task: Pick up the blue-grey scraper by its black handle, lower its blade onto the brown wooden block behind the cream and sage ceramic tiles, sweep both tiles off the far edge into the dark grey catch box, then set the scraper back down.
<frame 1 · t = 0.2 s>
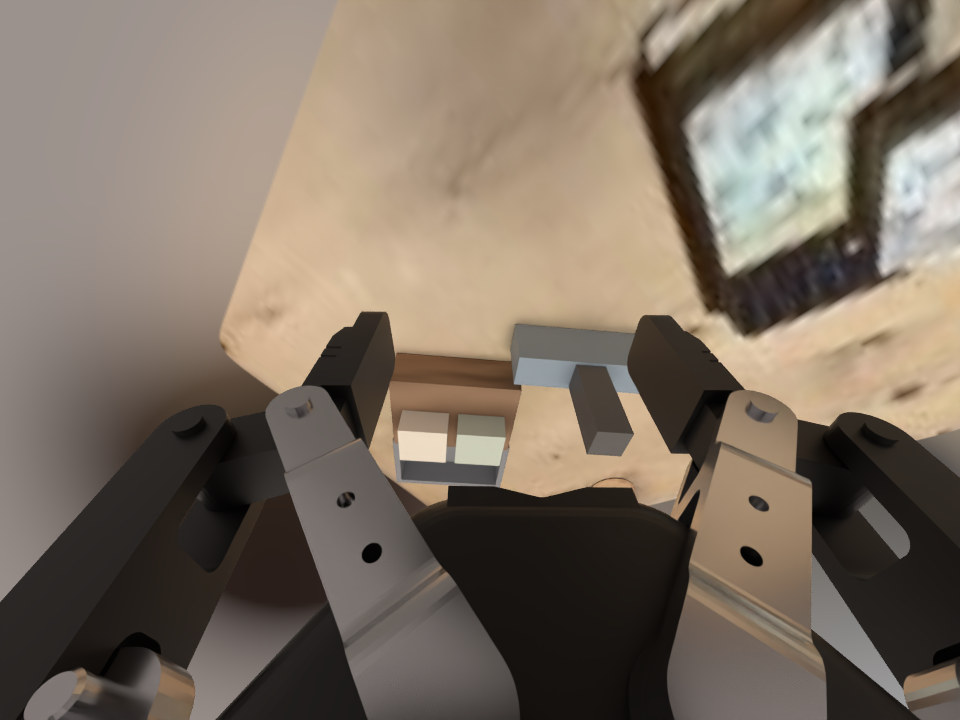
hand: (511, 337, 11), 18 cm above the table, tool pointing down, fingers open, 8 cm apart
tile a: (425, 426, 35), point 4 cm above the table, touching brown wooden block
tile b: (479, 430, 36), point 4 cm above the table, touching brown wooden block
catch box: (452, 441, 43), on the table
brown wooden block: (455, 390, 38), on the table
scraper: (574, 341, 34), on the table
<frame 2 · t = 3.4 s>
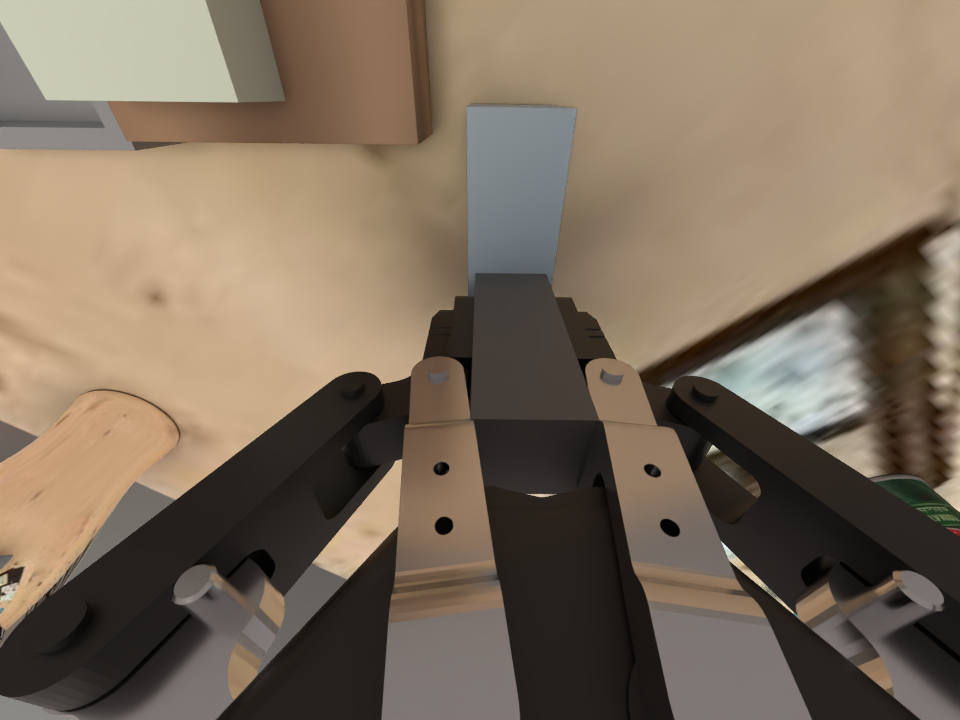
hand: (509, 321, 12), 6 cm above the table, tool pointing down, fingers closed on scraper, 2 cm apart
canned tomato: (864, 499, 30), on the table
beer glass: (133, 420, 24), on the table
scraper: (502, 256, 17), on the table, touching gripper
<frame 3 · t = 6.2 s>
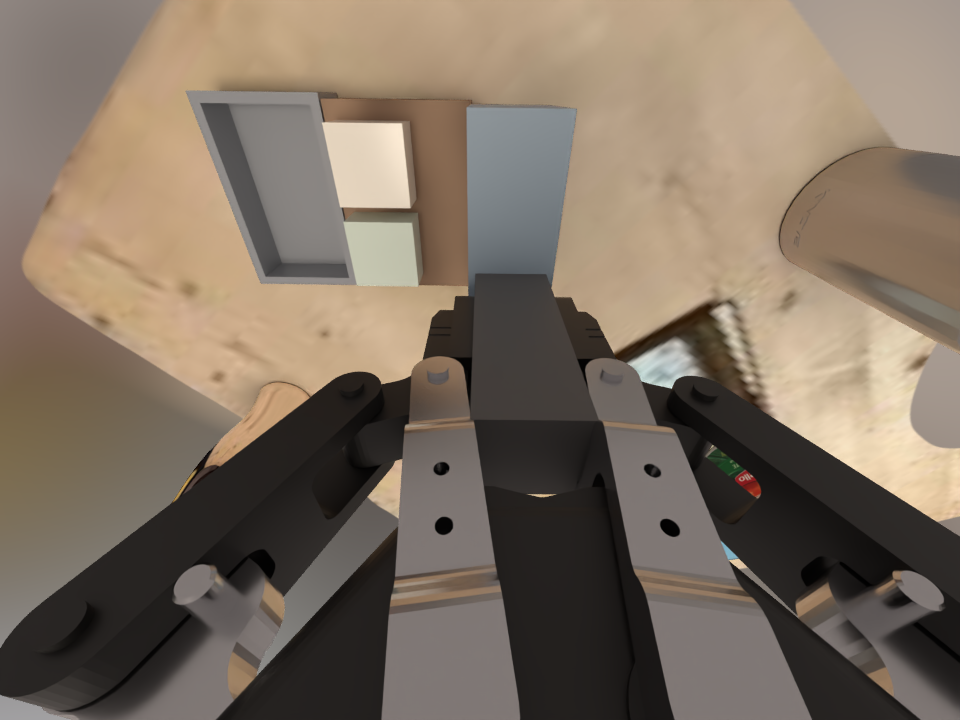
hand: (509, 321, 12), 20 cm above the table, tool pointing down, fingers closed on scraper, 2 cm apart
canned tomato: (732, 454, 47), on the table
tile a: (379, 161, 23), point 4 cm above the table, touching brown wooden block
tile b: (390, 243, 26), point 4 cm above the table, touching brown wooden block
beer glass: (288, 399, 42), on the table
catch box: (304, 191, 28), on the table
brown wooden block: (415, 193, 28), on the table
scraper: (502, 256, 17), point 13 cm above the table, touching gripper
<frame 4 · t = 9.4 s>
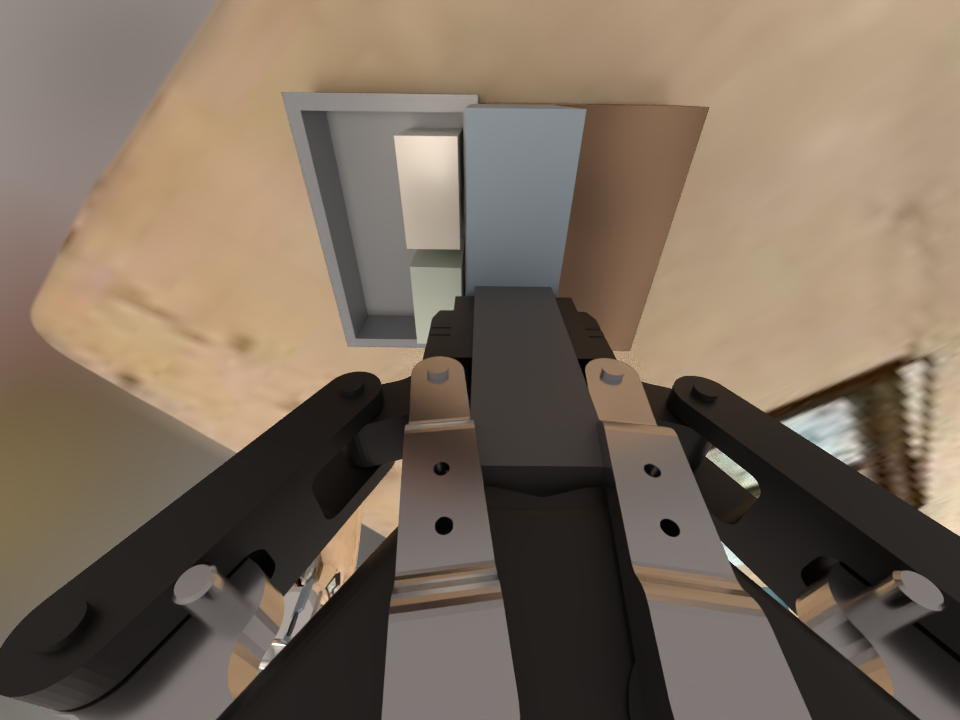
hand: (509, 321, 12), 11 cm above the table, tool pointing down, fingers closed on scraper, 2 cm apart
tile a: (461, 187, 17), point 3 cm above the table, tilted 90°, touching catch box
tile b: (463, 290, 20), point 3 cm above the table, tilted 90°, touching catch box
beer glass: (348, 463, 35), on the table
catch box: (410, 226, 21), on the table
brown wooden block: (558, 228, 21), on the table
scraper: (503, 264, 16), point 6 cm above the table, touching gripper
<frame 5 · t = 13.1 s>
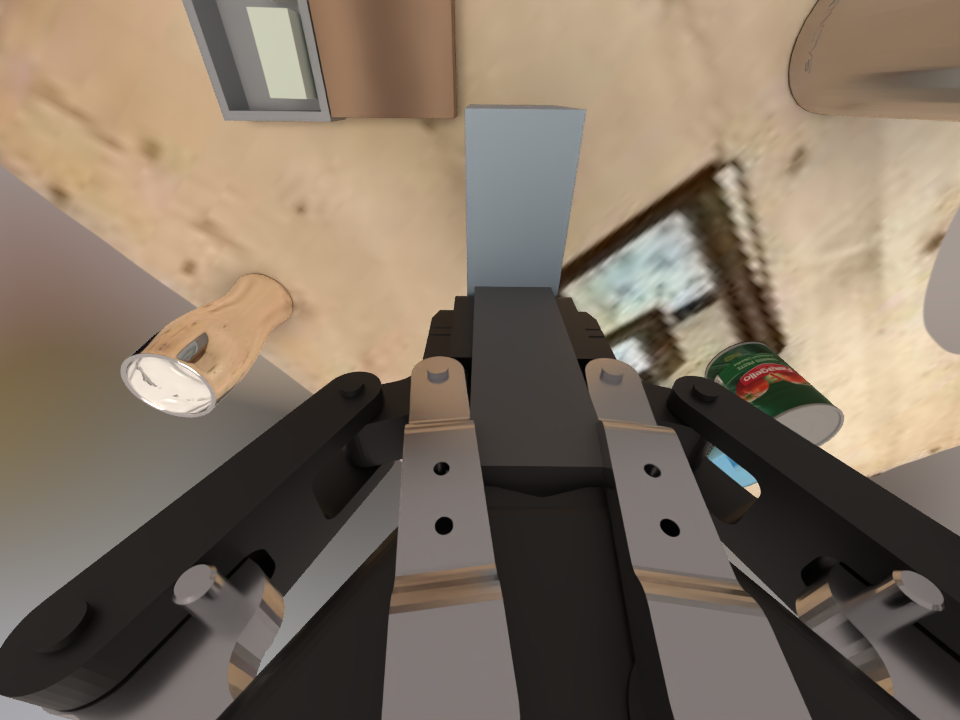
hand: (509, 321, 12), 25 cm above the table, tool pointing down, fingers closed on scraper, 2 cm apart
canned tomato: (736, 365, 45), on the table
tile b: (310, 59, 25), point 3 cm above the table, tilted 90°, touching catch box
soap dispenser: (698, 455, 56), on the table
beer glass: (265, 298, 39), on the table
catch box: (271, 13, 25), on the table
brown wooden block: (392, 14, 26), on the table
scraper: (503, 264, 16), point 20 cm above the table, touching gripper
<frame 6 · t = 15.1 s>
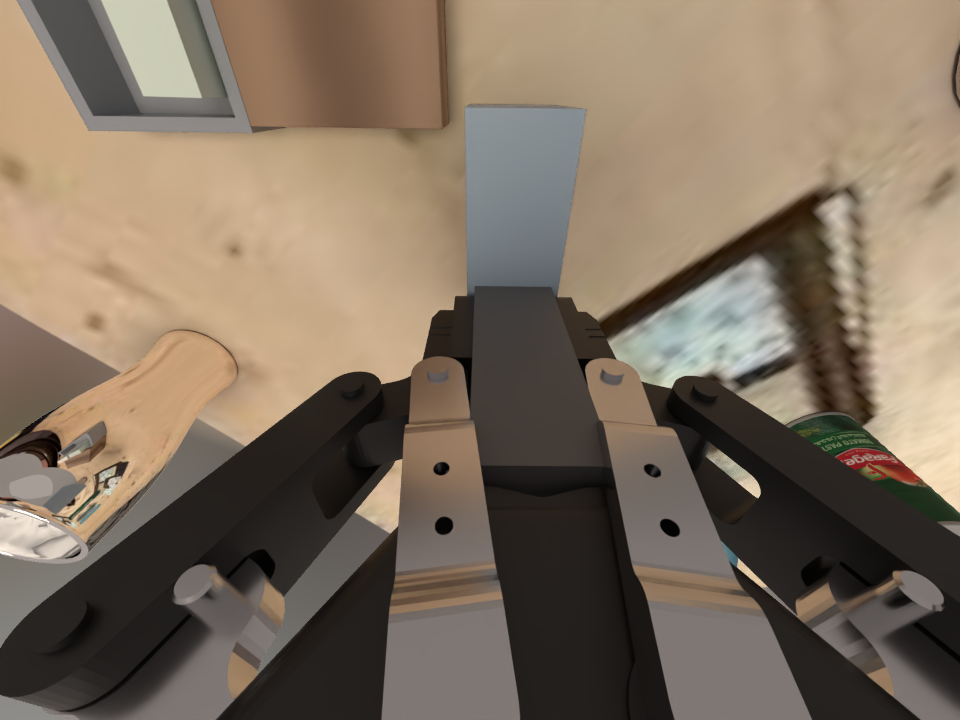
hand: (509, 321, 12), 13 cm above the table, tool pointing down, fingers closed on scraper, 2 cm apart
canned tomato: (806, 437, 35), on the table
tile b: (211, 34, 15), point 3 cm above the table, tilted 90°, touching catch box
beer glass: (201, 358, 30), on the table
scraper: (503, 264, 16), point 8 cm above the table, touching gripper
when the fingers open (7 cm above the table, at t = 16.6 s): scraper drops 2 cm, on the table.
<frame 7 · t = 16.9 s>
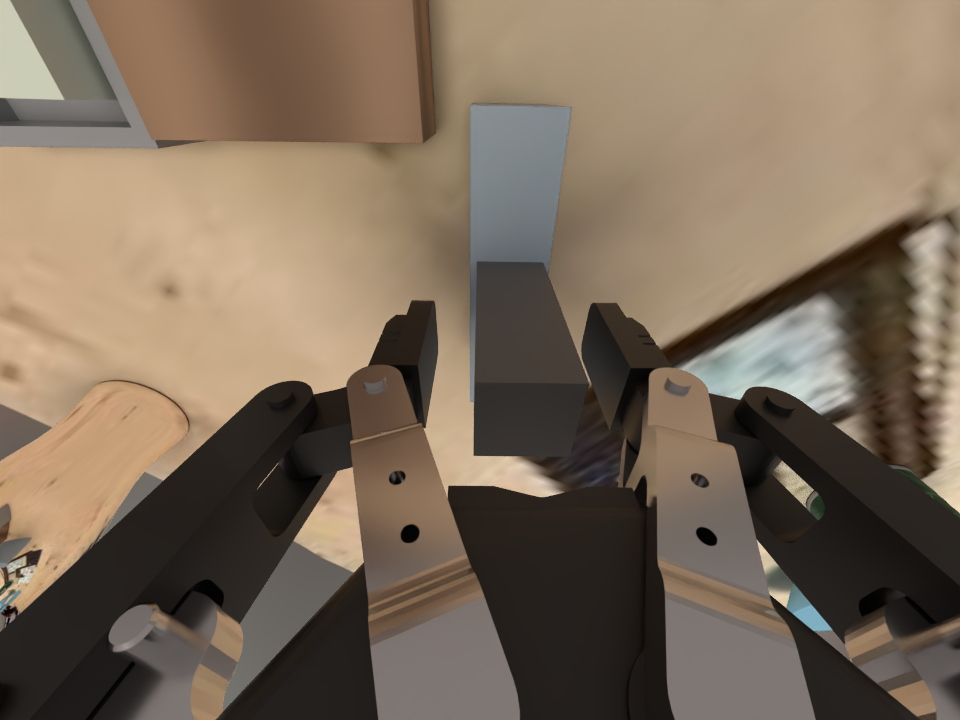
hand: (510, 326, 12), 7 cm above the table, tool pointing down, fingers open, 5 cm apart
canned tomato: (855, 490, 31), on the table
tile b: (84, 6, 11), point 3 cm above the table, tilted 90°, touching catch box
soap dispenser: (772, 577, 42), on the table
beer glass: (144, 410, 25), on the table
scraper: (501, 248, 18), on the table
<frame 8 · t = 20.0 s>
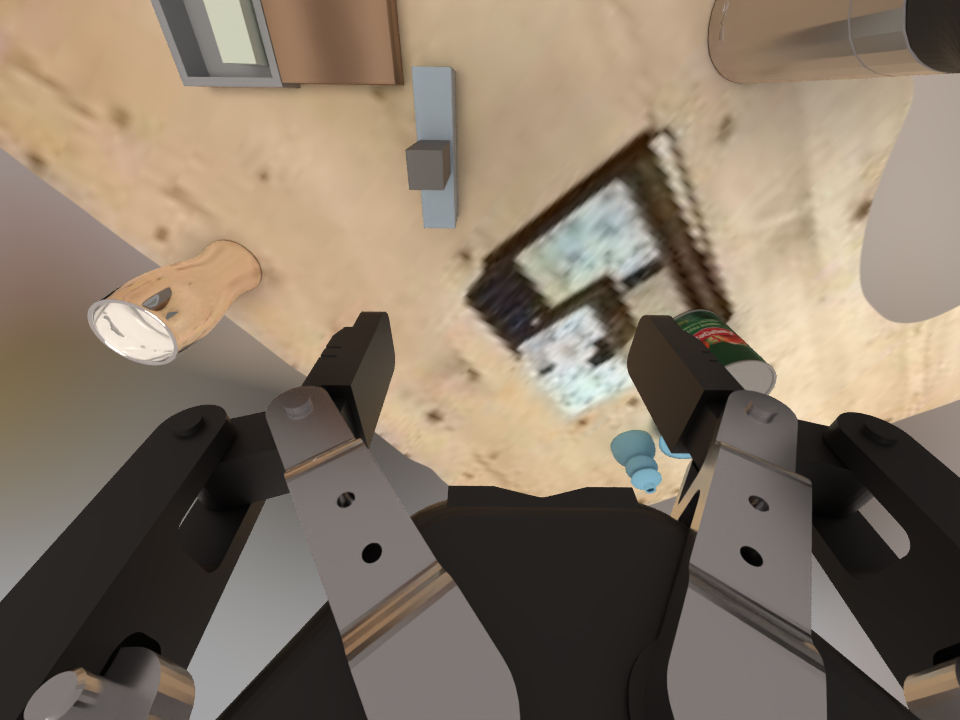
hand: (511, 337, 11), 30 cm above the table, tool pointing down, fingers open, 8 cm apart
canned tomato: (688, 334, 47), on the table
tile b: (260, 27, 27), point 3 cm above the table, tilted 90°, touching catch box
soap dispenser: (660, 426, 58), on the table
beer glass: (235, 265, 42), on the table
scraper: (441, 149, 34), on the table
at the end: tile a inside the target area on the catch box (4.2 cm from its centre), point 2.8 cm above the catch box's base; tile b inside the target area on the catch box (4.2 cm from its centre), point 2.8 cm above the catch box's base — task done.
